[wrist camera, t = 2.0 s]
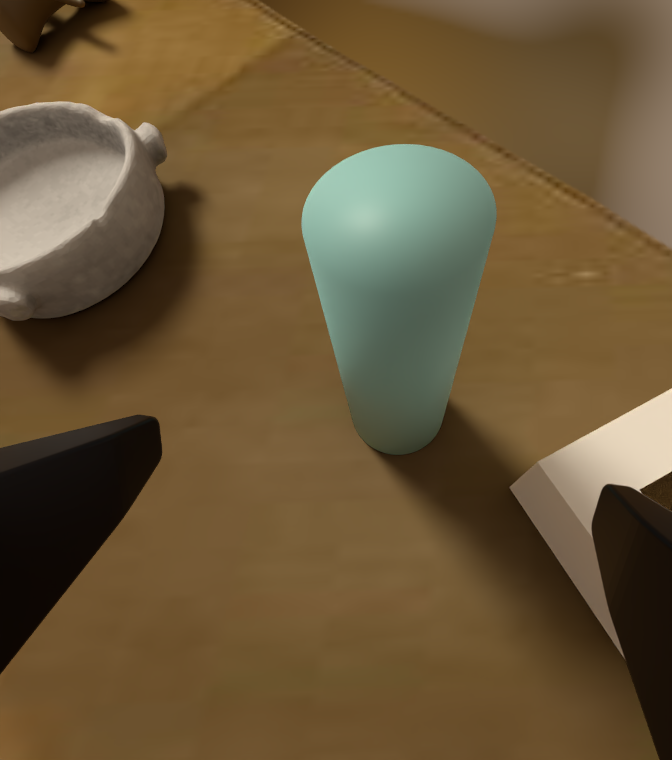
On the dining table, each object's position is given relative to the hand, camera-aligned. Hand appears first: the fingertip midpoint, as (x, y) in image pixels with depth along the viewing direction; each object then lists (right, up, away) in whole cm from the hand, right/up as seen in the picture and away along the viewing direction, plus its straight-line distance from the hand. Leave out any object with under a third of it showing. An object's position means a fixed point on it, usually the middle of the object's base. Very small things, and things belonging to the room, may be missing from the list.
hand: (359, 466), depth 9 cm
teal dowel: (+2, 0, +13) cm, 13 cm away
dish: (-17, +11, +21) cm, 30 cm away
